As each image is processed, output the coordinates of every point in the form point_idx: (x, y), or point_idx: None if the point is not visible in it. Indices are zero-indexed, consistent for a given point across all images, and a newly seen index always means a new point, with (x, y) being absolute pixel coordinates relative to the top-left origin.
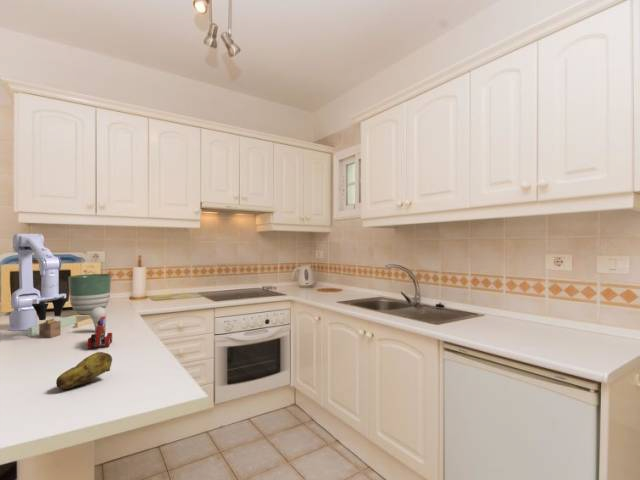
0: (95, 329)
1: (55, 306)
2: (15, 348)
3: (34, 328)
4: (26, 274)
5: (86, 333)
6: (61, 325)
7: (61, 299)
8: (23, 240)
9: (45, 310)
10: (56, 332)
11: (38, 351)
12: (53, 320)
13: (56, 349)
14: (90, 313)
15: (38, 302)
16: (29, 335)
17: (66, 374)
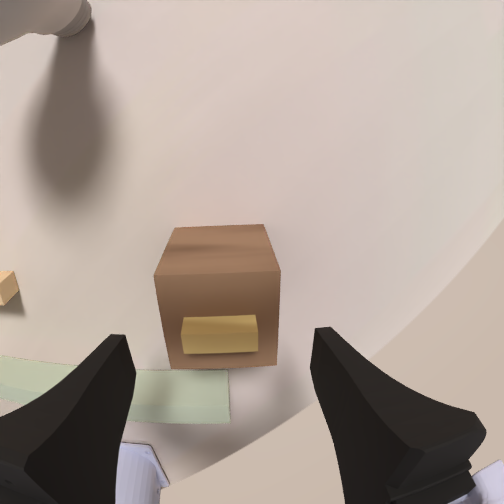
0: (84, 18)
1: (108, 454)
2: (450, 245)
3: (210, 399)
4: None
5: (112, 70)
6: (41, 368)
7: (36, 493)
8: None
9: (376, 387)
10: (210, 236)
11: (490, 88)
12: (190, 325)
13: (461, 20)
14: (19, 5)
15: (490, 477)
16: (228, 382)
17: None
